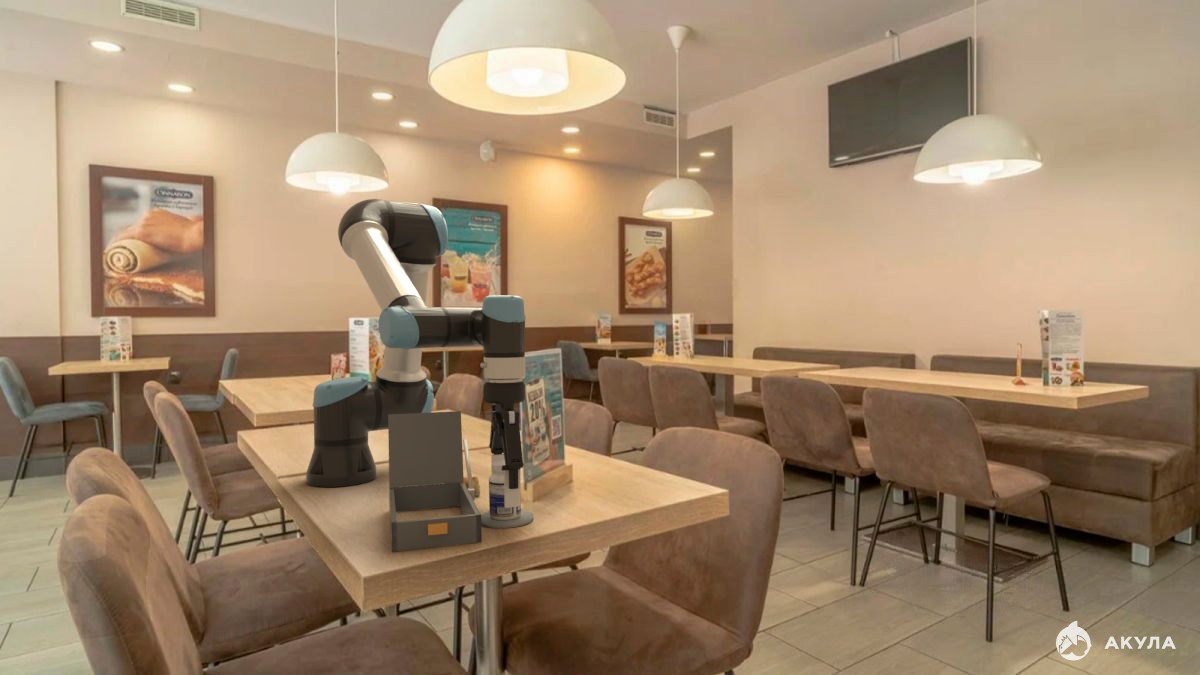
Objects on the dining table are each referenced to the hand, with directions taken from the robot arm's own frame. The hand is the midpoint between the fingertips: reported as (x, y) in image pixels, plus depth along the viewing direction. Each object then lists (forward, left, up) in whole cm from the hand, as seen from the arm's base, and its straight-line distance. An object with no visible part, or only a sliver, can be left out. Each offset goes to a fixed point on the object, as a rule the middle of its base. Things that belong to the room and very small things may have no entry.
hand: (505, 497), depth 121 cm
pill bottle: (0, 0, -4) cm, 4 cm away
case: (-3, -13, -4) cm, 13 cm away
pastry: (-21, -6, -5) cm, 22 cm away
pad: (0, 0, -4) cm, 4 cm away
